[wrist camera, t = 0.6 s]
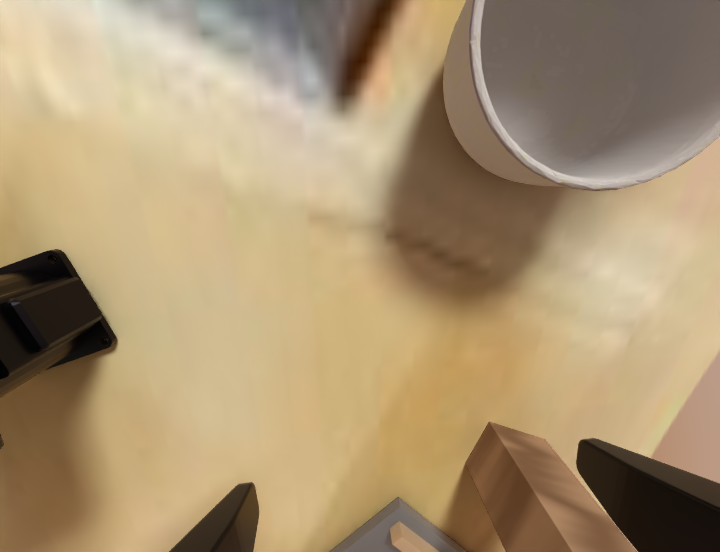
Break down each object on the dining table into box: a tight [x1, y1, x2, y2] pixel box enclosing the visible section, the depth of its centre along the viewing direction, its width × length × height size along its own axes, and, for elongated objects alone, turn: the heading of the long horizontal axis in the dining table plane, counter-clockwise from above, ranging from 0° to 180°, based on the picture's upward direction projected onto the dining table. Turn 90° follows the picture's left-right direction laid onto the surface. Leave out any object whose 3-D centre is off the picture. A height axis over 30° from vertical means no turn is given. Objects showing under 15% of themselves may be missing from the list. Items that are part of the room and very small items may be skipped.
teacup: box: [443, 0, 720, 191], centre depth 15 cm, size 14×11×8 cm
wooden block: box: [466, 422, 637, 552], centre depth 19 cm, size 5×4×13 cm
